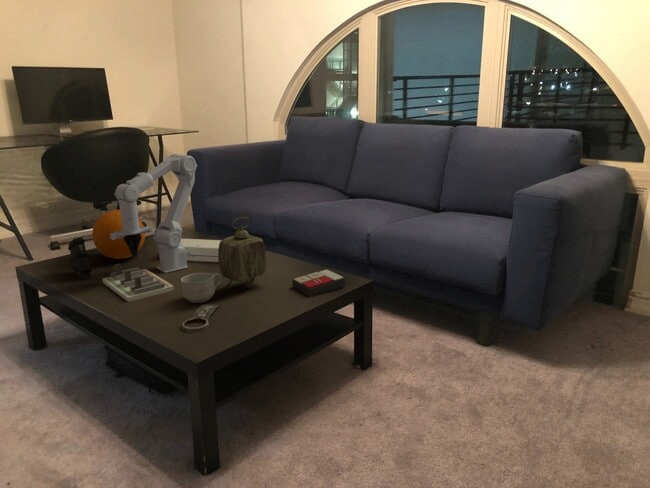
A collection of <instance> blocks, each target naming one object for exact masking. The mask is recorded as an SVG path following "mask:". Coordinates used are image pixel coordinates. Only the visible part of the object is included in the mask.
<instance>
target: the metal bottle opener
mask: <svg viewBox="0 0 650 488" xmlns="http://www.w3.org/2000/svg"><path fill="white" fill-rule="evenodd" d="M220 306H221V304H202V305H200V306H199V307H198V308H197V309H196V310H194V311H195V312H193V314H192V316H191V317H190V318H189V319H186V320H185V321H183V322H182V323H181V325H182V330H184V331H186V332H191V333H192V332H193V333H198V332H200V331H201V332H202V331H204V330H205V329H208V328H209V320H210V319H211V315H213V313H214V312H215V310H217V309H220ZM192 323H203V325H200V326H198V327H196V326H195V327H189V326H187V325H188V324H192Z"/></svg>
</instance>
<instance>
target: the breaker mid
mask: <svg viewBox="0 0 650 488" xmlns="http://www.w3.org/2000/svg"><path fill="white" fill-rule="evenodd" d="M124 270H125V271H124V275H125V282H128V281H132V280H131V272H130V270H127V269H124Z"/></svg>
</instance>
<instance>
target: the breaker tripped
mask: <svg viewBox="0 0 650 488" xmlns="http://www.w3.org/2000/svg"><path fill="white" fill-rule="evenodd" d="M134 282H135V289H138V288H142V286H141V278H140V277H139V276H138V277H134Z"/></svg>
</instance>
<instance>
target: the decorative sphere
mask: <svg viewBox="0 0 650 488" xmlns="http://www.w3.org/2000/svg"><path fill="white" fill-rule="evenodd" d="M138 219H139V227H145V225H144V224H143V222H142V220H141V219H140V218H139V217H138ZM121 230H123V229H122V221H121V213H120V209H113V210H109V211H107V212H105V213H103V214H101V215H100V216H99V217H98V218H97V220H96V221H95V223H94V225H93V228H92V235H91V237H92V240H93V244H94V246H95V248H96V249H97V250H98V252H99V253H100V254H102V255H103V256H105V257H107V258H109V259H114V260H125V259H127V258H131V257H133V255H131V252H130V249H129V247H128V245H127V243H126V242H125V240H124V239H123V237H122V238H117V239H115V240H112V239H111V238H110V234H111V233H115V232H118V231H121ZM140 235H141V236H142V239H141V241H140V243H139V246H138V252H139V251H140V250H141V249H142V247H143V245H144V243H145V239H146V233H142V234H140Z"/></svg>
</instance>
